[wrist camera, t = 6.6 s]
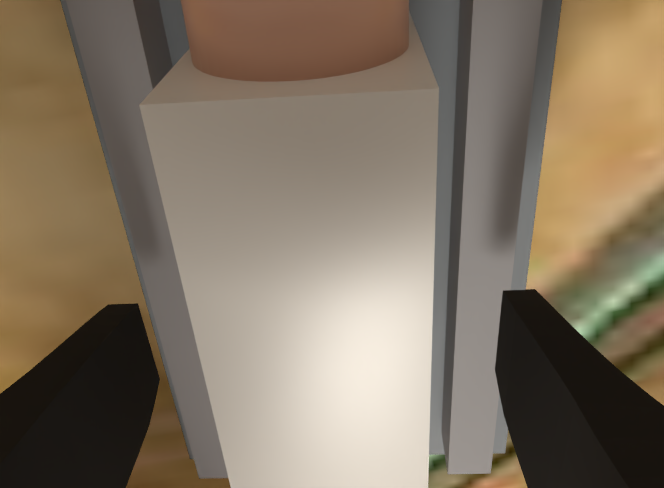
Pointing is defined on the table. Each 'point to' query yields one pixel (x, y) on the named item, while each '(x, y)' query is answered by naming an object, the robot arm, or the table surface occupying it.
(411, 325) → the cream rectangular bar
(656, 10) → the table surface
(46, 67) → the table surface
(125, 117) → the cradle
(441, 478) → the table surface
